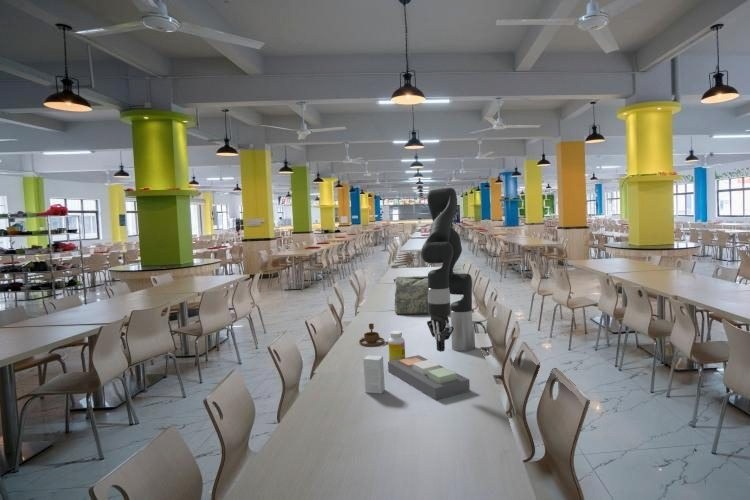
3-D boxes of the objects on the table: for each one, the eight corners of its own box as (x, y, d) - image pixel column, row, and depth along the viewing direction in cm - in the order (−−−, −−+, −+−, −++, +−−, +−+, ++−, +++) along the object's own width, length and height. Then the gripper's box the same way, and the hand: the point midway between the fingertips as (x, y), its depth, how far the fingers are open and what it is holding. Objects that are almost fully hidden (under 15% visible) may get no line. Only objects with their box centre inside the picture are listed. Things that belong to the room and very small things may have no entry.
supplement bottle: (404, 365, 187) (402, 334, 186) (388, 365, 188) (386, 334, 187) (406, 360, 193) (405, 330, 192) (390, 360, 195) (389, 329, 194)
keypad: (419, 364, 187) (418, 355, 187) (469, 390, 159) (469, 379, 159) (388, 371, 181) (387, 361, 181) (435, 400, 153) (434, 388, 152)
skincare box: (385, 389, 164) (383, 356, 163) (381, 394, 160) (379, 360, 159) (368, 388, 166) (367, 355, 165) (364, 392, 162) (362, 358, 161)
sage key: (444, 375, 165) (444, 367, 165) (456, 381, 159) (456, 373, 159) (427, 379, 162) (427, 371, 162) (439, 386, 156) (439, 377, 156)
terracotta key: (414, 364, 183) (414, 356, 183) (424, 369, 177) (424, 361, 177) (399, 367, 180) (398, 360, 180) (408, 373, 174) (408, 365, 174)
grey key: (428, 367, 174) (428, 359, 174) (439, 373, 168) (439, 364, 168) (412, 371, 171) (412, 363, 171) (423, 377, 165) (422, 368, 165)
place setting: (349, 345, 221) (348, 333, 220) (369, 334, 238) (369, 323, 237) (381, 349, 212) (381, 336, 212) (400, 337, 230) (400, 325, 229)
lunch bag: (438, 308, 289) (437, 273, 287) (437, 314, 271) (436, 277, 269) (396, 308, 293) (395, 274, 291) (393, 315, 275) (391, 278, 273)
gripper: (460, 302, 154) (461, 353, 156) (437, 296, 166) (438, 344, 167) (441, 305, 151) (443, 357, 152) (419, 299, 163) (421, 348, 164)
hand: (440, 350), depth 160 cm, fingers closed
